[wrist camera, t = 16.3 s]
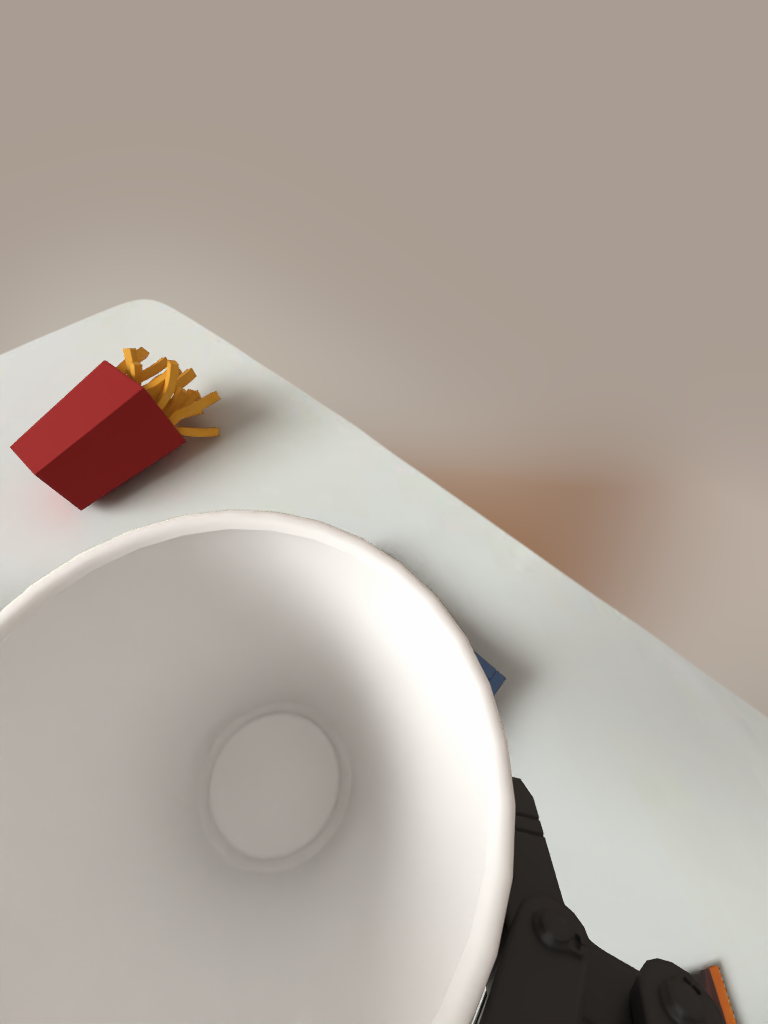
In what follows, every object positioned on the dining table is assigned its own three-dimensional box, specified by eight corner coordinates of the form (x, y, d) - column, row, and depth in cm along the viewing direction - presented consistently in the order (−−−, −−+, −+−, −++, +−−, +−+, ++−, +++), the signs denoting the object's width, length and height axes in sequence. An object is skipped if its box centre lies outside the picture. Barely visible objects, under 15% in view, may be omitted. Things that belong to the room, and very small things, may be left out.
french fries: (29, 472, 33) (195, 346, 38) (-13, 425, 37) (143, 316, 42) (111, 535, 40) (242, 423, 45) (69, 490, 44) (193, 391, 49)
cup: (178, 629, 19) (36, 478, 10) (420, 656, 20) (506, 537, 10) (78, 953, 14) (-411, 1282, 5) (404, 980, 15) (544, 1330, 5)
